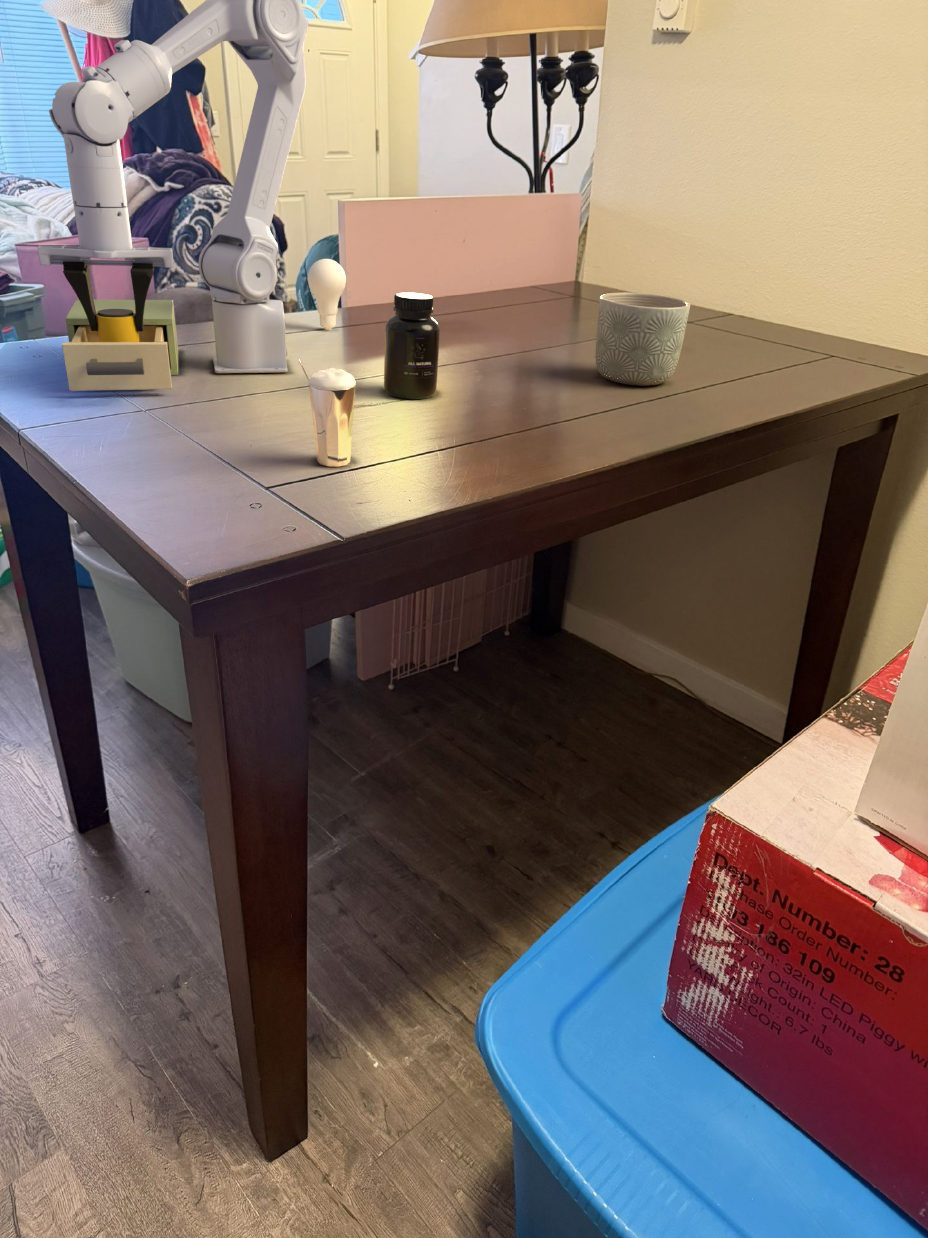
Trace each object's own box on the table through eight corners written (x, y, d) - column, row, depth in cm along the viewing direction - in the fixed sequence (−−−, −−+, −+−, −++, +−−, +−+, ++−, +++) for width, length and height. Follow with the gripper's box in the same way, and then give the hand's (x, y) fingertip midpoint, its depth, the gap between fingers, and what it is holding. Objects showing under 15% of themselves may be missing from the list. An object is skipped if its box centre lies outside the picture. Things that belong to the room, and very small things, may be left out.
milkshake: (304, 453, 89) (300, 354, 85) (356, 454, 90) (356, 356, 85) (301, 468, 85) (297, 365, 81) (355, 469, 86) (355, 367, 81)
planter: (573, 376, 125) (582, 296, 119) (621, 365, 133) (631, 289, 128) (646, 395, 118) (660, 311, 112) (692, 382, 126) (707, 302, 121)
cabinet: (178, 374, 114) (172, 318, 111) (74, 376, 111) (65, 318, 107) (178, 351, 125) (172, 299, 122) (84, 352, 122) (76, 298, 119)
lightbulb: (339, 335, 141) (338, 262, 136) (304, 331, 142) (301, 259, 137) (351, 328, 146) (350, 258, 141) (316, 324, 147) (314, 254, 142)
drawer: (171, 398, 101) (166, 351, 99) (65, 400, 98) (57, 352, 96) (172, 364, 115) (168, 322, 112) (79, 365, 112) (73, 322, 109)
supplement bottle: (417, 403, 108) (420, 302, 102) (373, 393, 111) (373, 294, 105) (447, 392, 113) (451, 295, 107) (404, 383, 116) (406, 288, 110)
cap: (140, 337, 108) (136, 308, 107) (138, 345, 105) (134, 315, 103) (100, 337, 107) (96, 307, 105) (97, 345, 103) (93, 315, 102)
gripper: (25, 206, 93) (48, 336, 100) (167, 211, 97) (180, 336, 104) (34, 200, 99) (55, 324, 106) (168, 205, 103) (180, 324, 110)
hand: (117, 329), depth 105 cm, fingers closed on cap, 4 cm apart
